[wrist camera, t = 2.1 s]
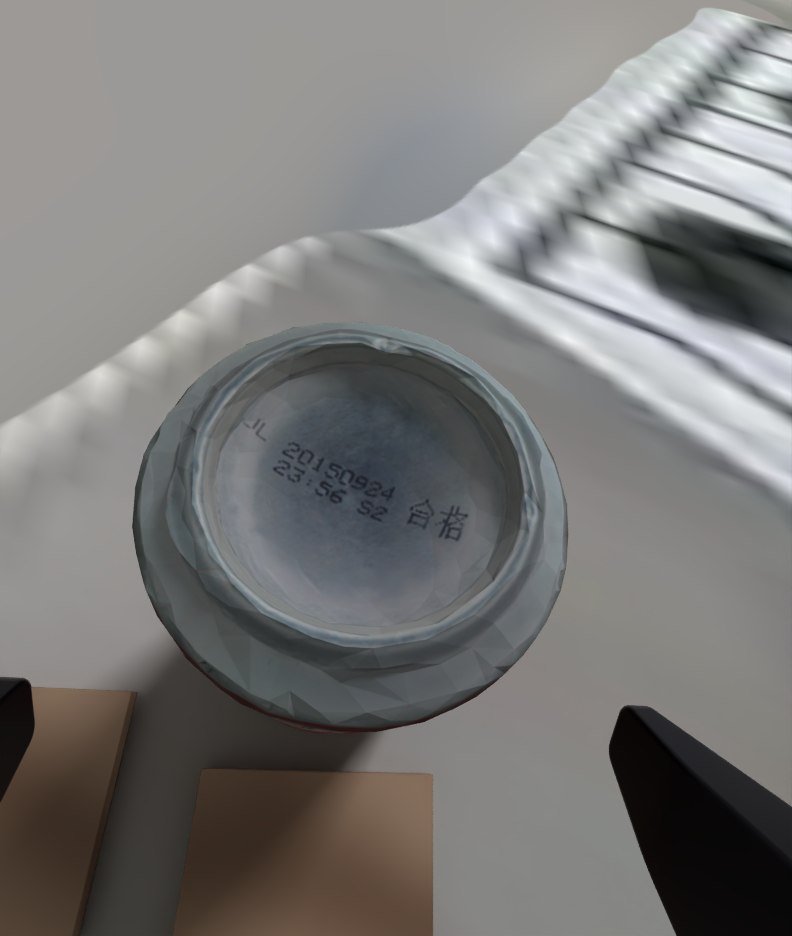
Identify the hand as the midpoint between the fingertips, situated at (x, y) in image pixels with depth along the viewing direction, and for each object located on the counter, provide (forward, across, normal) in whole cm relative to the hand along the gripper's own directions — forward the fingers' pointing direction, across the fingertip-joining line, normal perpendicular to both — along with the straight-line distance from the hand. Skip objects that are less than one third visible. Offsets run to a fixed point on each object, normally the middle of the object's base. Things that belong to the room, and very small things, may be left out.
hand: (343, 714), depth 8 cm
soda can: (+10, 0, +5) cm, 11 cm away
